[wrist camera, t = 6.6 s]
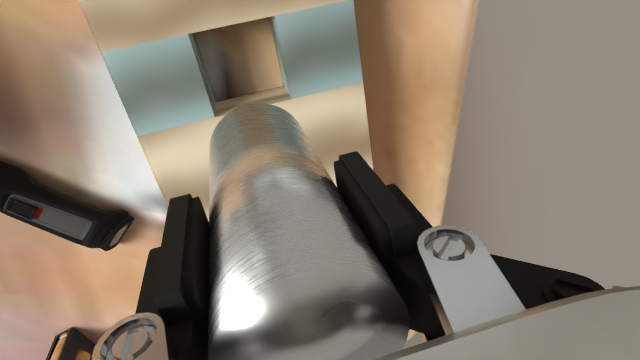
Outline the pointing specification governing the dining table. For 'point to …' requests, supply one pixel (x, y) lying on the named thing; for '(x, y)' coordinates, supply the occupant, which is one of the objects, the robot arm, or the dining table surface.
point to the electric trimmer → (59, 212)
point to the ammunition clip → (71, 346)
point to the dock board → (204, 113)
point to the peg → (289, 252)
